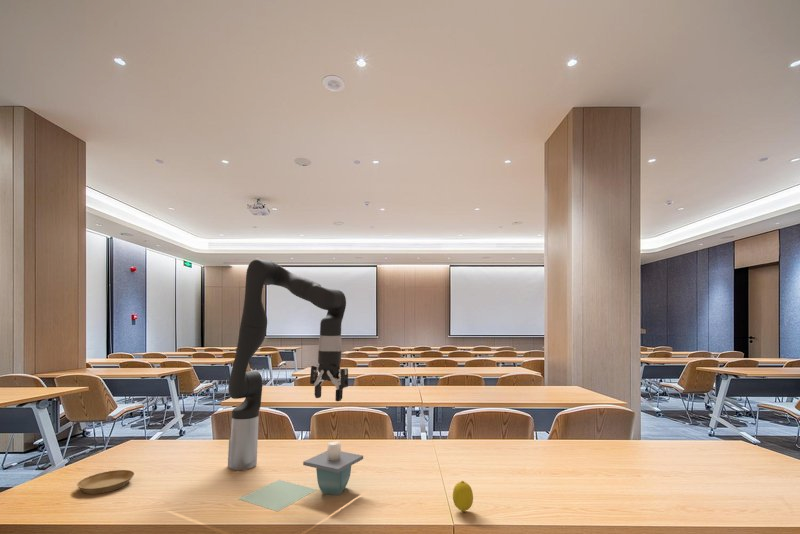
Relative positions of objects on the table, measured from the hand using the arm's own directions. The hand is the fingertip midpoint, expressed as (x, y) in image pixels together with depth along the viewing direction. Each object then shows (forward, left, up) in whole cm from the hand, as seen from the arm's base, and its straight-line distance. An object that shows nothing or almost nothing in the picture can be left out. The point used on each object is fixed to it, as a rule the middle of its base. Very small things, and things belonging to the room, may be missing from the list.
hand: (328, 399), depth 131 cm
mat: (-7, -14, -26) cm, 30 cm away
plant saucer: (-61, -35, -27) cm, 75 cm away
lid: (+6, -4, -18) cm, 19 cm away
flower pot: (+6, -4, -27) cm, 28 cm away
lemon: (+45, +3, -27) cm, 52 cm away
